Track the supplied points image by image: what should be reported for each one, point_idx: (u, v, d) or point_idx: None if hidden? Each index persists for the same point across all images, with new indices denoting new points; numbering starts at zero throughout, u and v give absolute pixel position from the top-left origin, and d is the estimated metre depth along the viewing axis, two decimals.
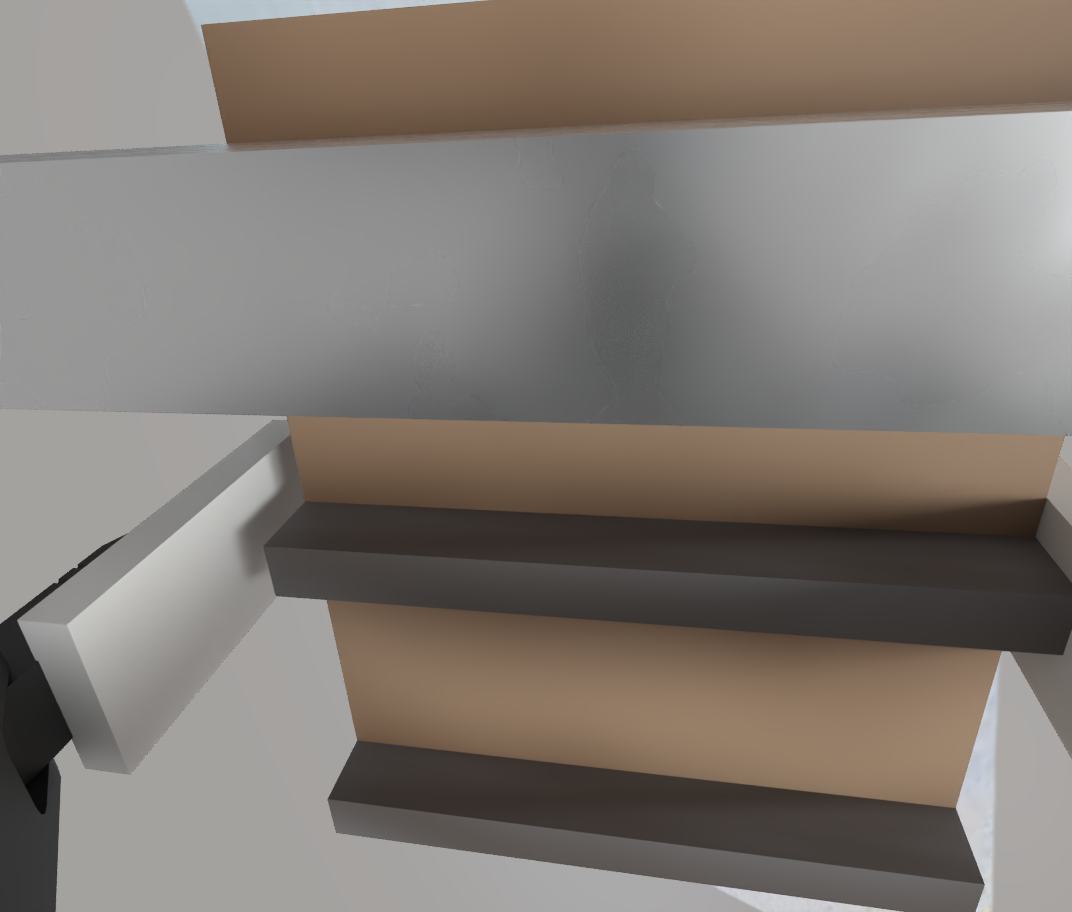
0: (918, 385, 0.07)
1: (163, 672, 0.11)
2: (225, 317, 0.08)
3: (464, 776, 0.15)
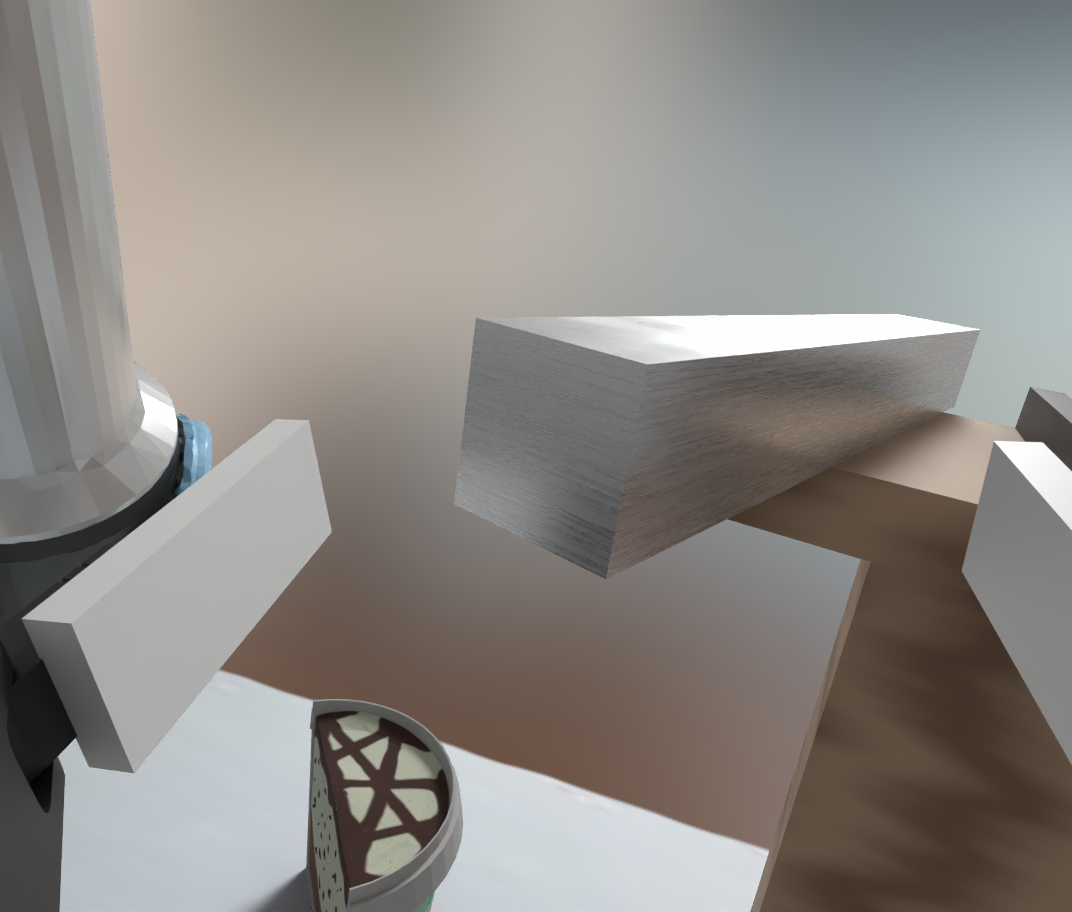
0: (929, 329, 0.23)
1: (167, 671, 0.11)
2: (826, 329, 0.18)
3: None
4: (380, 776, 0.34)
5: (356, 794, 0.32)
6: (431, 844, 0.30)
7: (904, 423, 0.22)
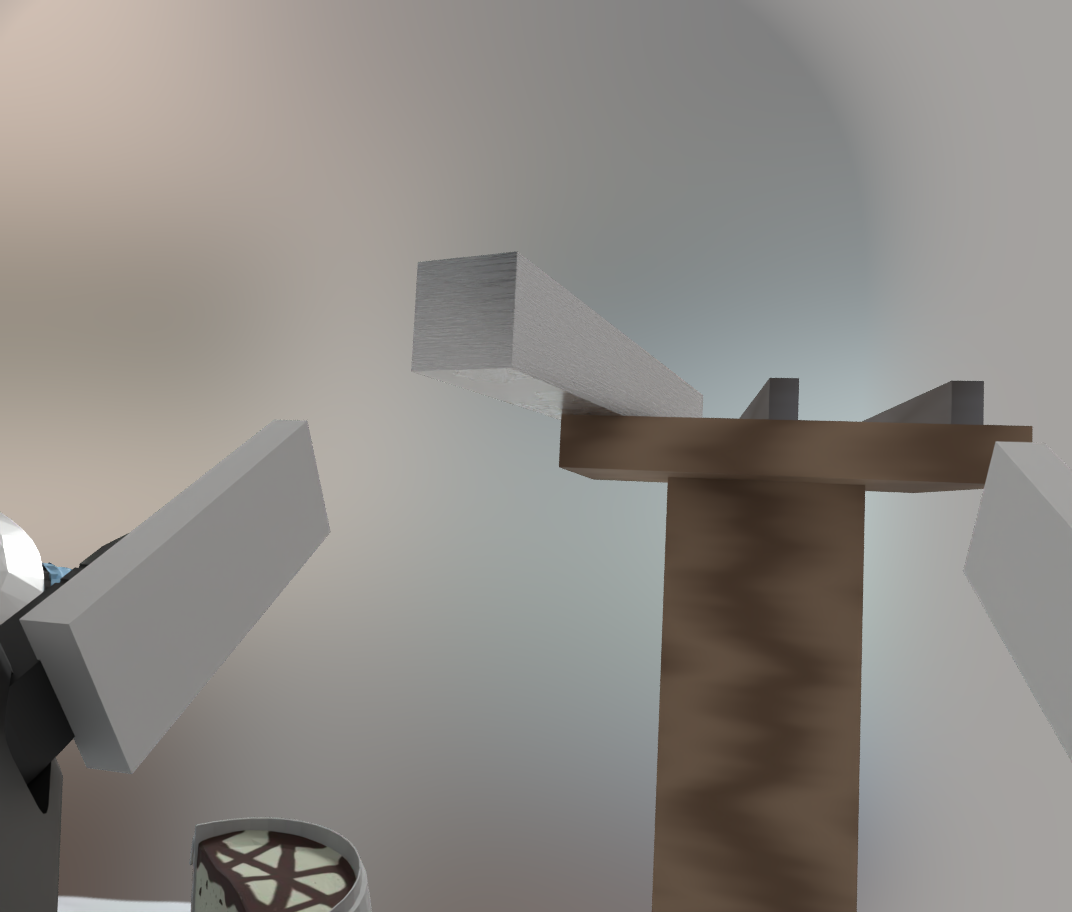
0: None
1: (165, 671, 0.11)
2: None
3: (925, 416, 0.27)
4: (280, 872, 0.33)
5: (259, 885, 0.32)
6: (347, 898, 0.30)
7: None
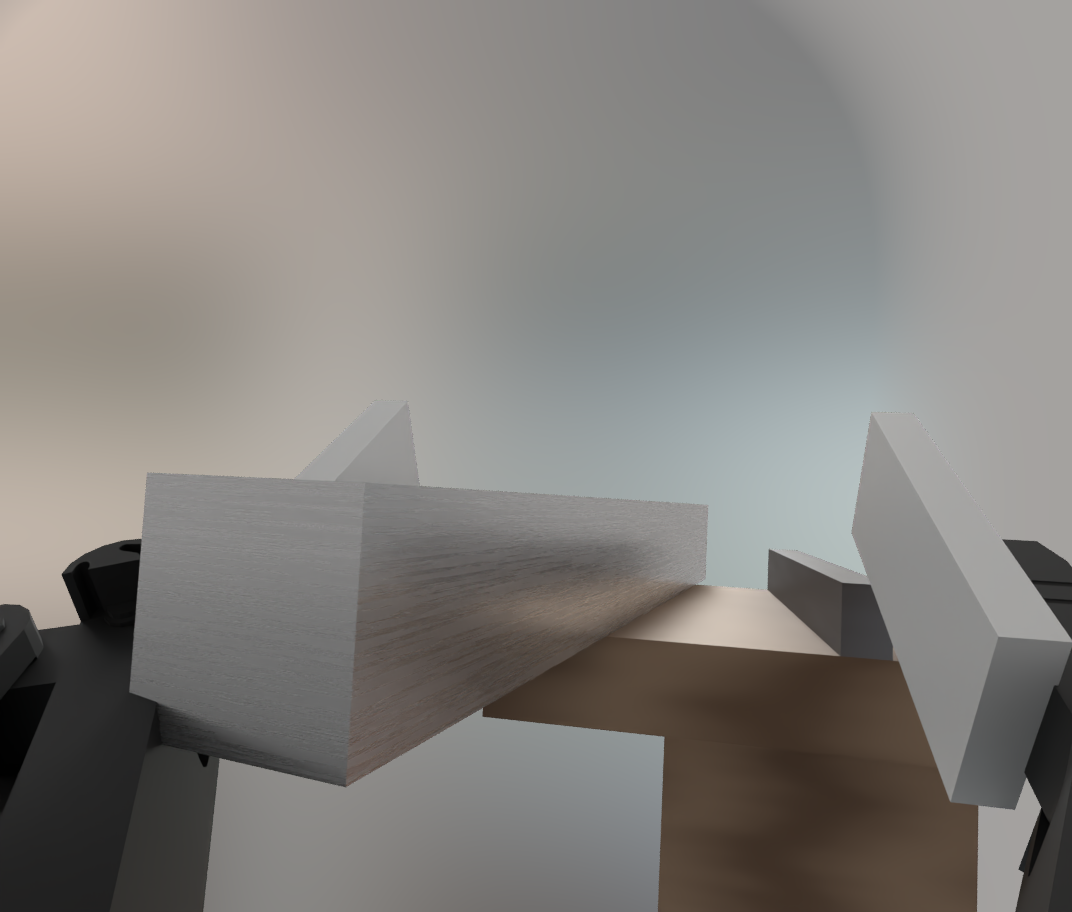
0: None
1: None
2: None
3: None
4: None
5: None
6: None
7: (666, 592, 0.22)
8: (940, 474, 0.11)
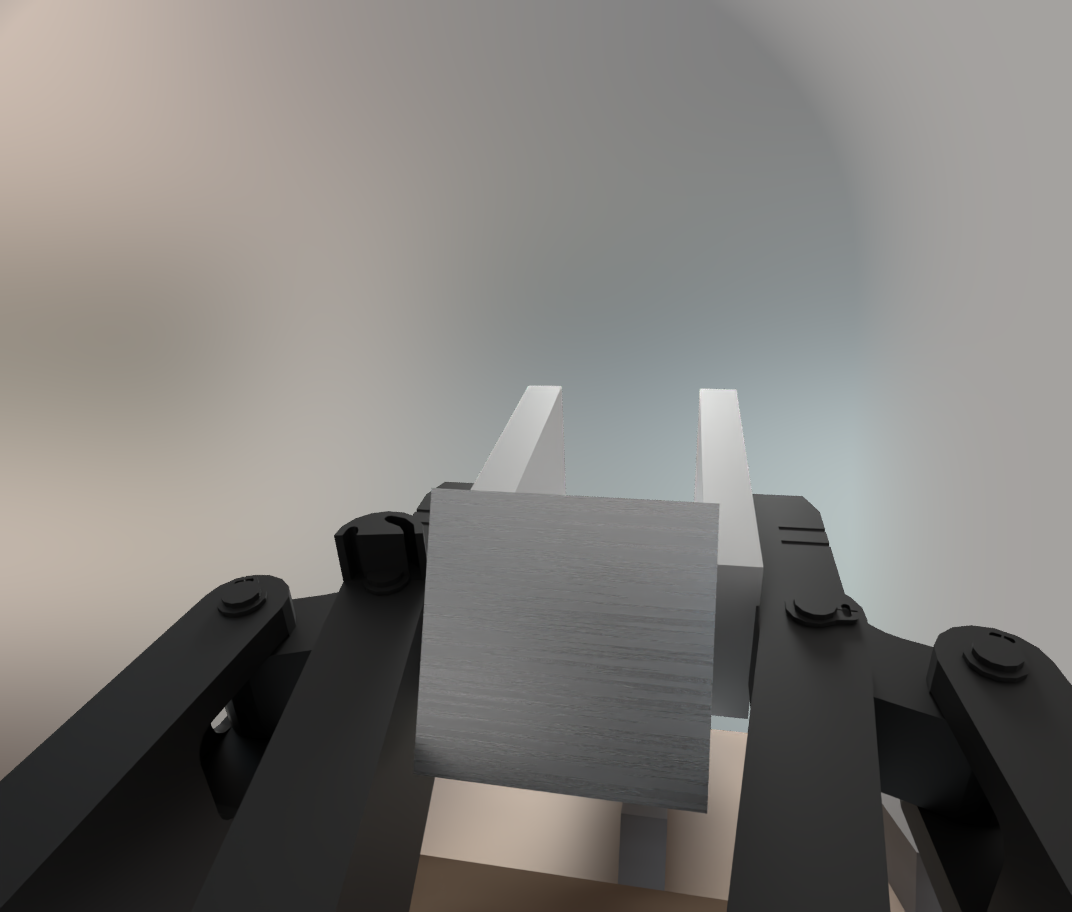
0: None
1: None
2: None
3: None
4: None
5: None
6: None
7: None
8: (730, 439, 0.13)
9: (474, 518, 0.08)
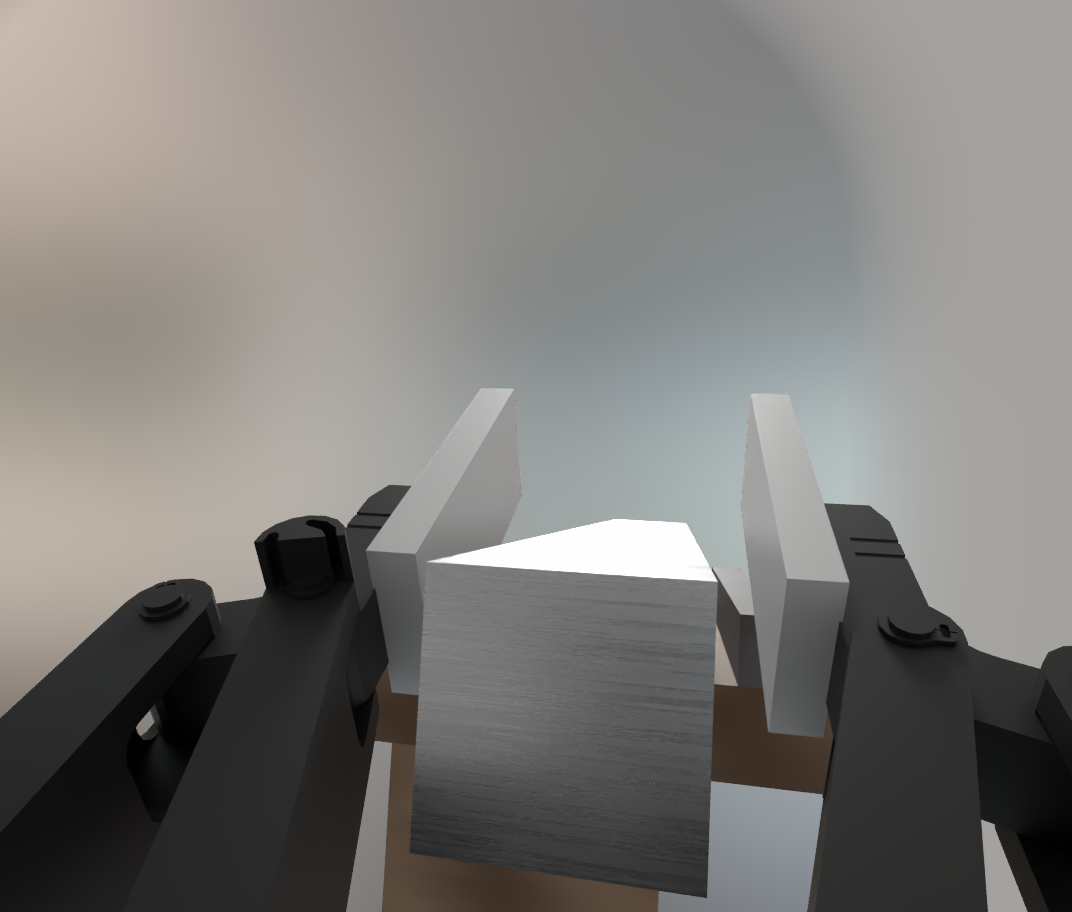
0: (672, 526, 0.25)
1: None
2: (640, 534, 0.17)
3: (729, 636, 0.18)
4: None
5: None
6: None
7: None
8: (790, 446, 0.13)
9: (470, 593, 0.08)
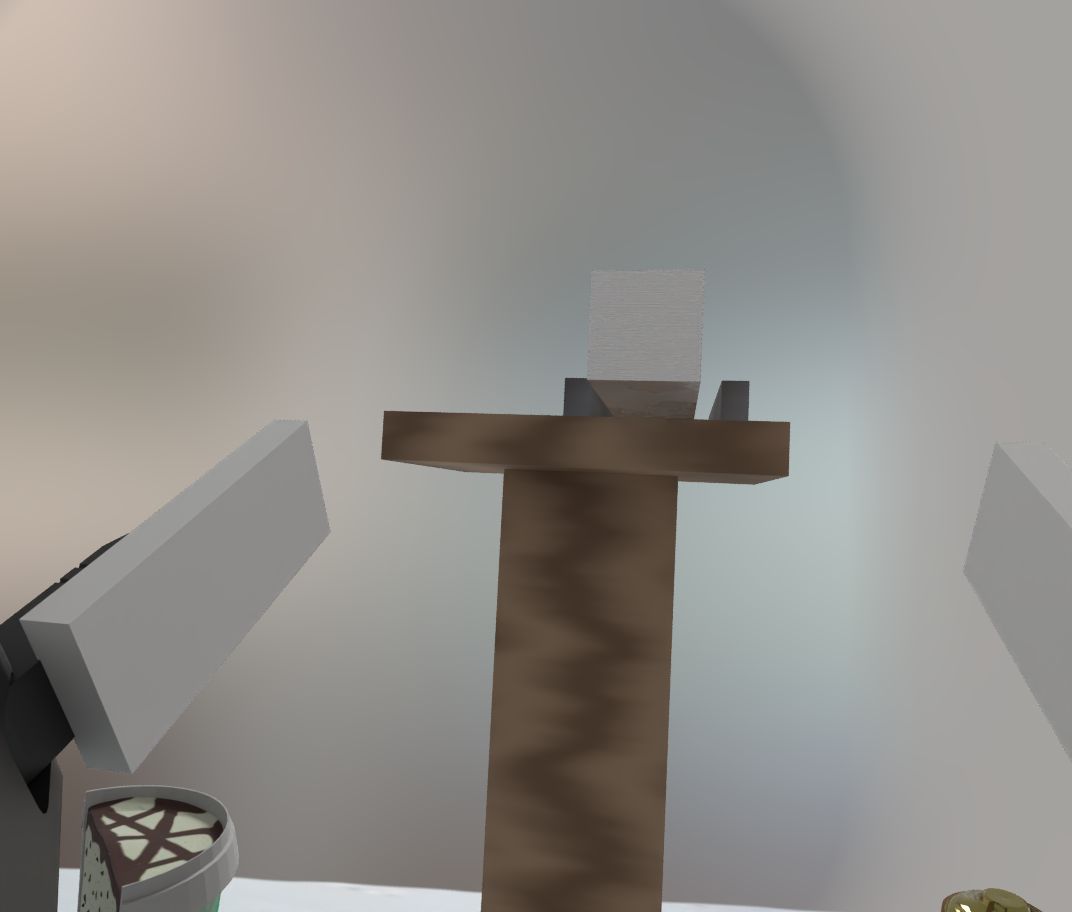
0: None
1: (165, 671, 0.11)
2: None
3: (717, 413, 0.30)
4: (155, 832, 0.36)
5: (130, 843, 0.34)
6: (204, 853, 0.33)
7: None
8: None
9: (609, 281, 0.20)
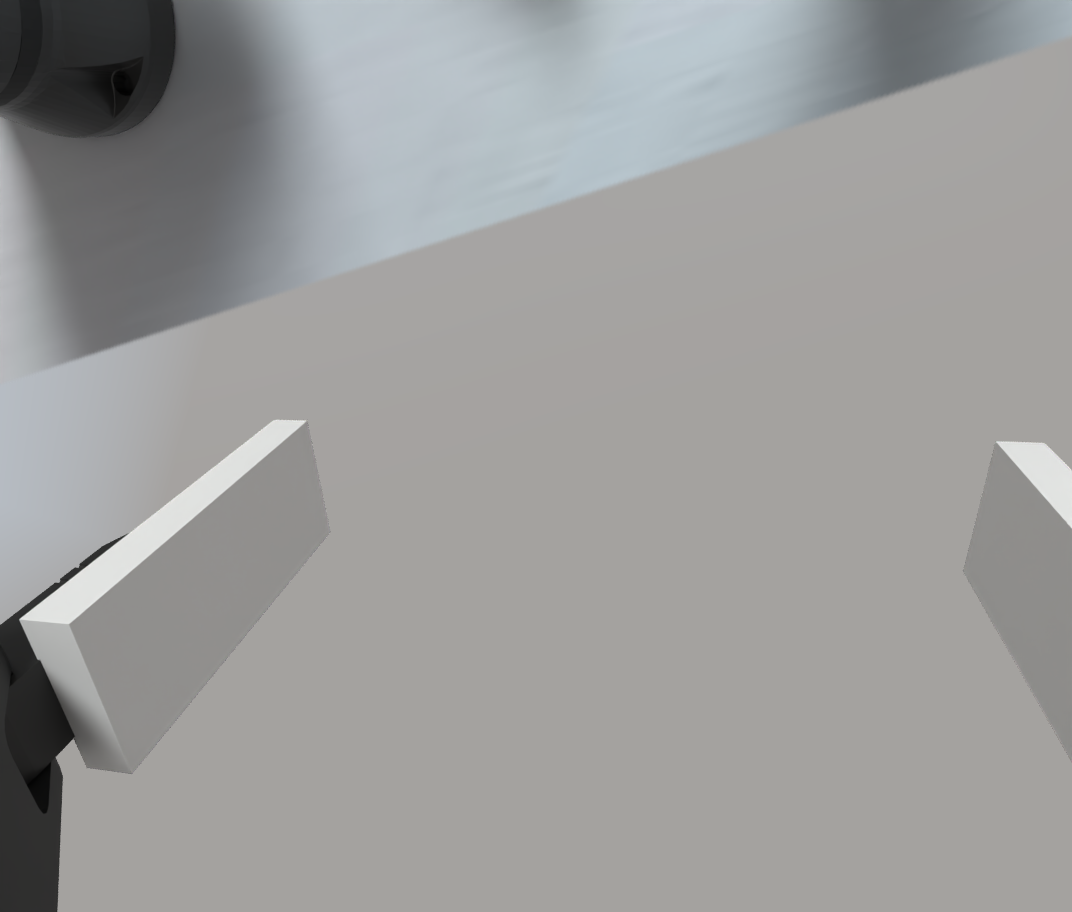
0: None
1: (165, 671, 0.11)
2: None
3: None
4: None
5: None
6: None
7: None
8: None
9: None
